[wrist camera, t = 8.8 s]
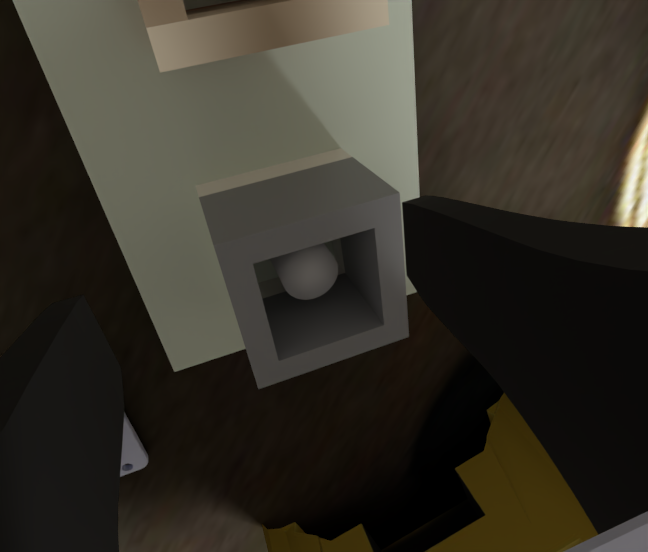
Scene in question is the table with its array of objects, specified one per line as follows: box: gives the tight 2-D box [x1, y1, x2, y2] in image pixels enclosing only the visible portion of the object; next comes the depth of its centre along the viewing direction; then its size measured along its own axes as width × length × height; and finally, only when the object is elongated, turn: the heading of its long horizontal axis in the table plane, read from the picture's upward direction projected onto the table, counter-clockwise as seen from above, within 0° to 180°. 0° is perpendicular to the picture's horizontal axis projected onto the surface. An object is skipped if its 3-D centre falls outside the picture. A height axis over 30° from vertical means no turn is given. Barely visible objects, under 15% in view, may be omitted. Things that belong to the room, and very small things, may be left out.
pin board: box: [12, 0, 420, 372], centre depth 16 cm, size 12×20×5 cm, turn 8°
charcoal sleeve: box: [196, 148, 409, 389], centre depth 17 cm, size 6×6×5 cm
